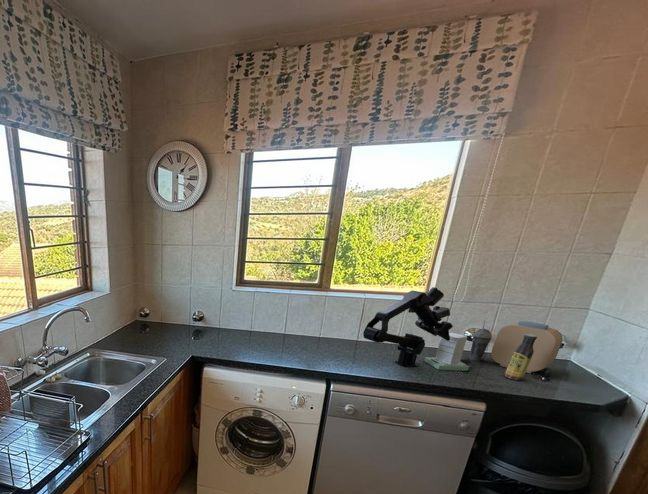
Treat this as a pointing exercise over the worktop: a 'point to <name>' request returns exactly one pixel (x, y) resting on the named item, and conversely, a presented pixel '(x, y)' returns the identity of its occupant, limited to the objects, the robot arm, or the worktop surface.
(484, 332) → the beverage cup
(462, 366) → the kitchen scale
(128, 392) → the worktop surface
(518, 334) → the beige toaster
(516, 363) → the sauce bottle
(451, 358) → the white packaging box
